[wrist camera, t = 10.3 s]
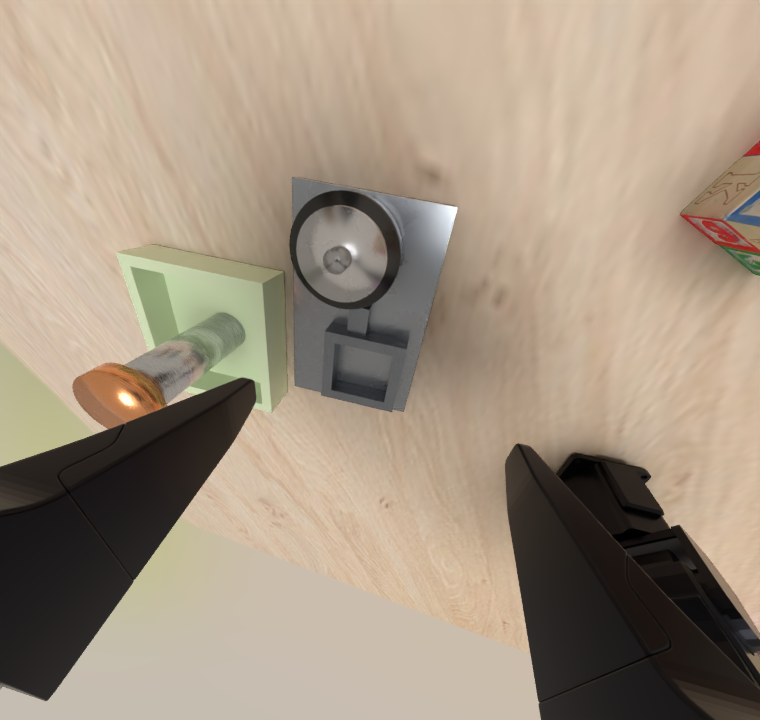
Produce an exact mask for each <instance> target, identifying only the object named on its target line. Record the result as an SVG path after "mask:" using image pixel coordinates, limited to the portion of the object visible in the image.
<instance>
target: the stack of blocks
mask: <svg viewBox="0 0 760 720" xmlns="http://www.w3.org/2000/svg"><path fill="white" fill-rule="evenodd" d="M680 215H681V216H682V217H684V218H685V219H686V220H687V221H688V222H690V223H691V224H692V225H693V226H694V227H696V228H697V229H698V230H699V231H701V232H702V233H703V234H704V235H706V236H707V237H708V238H709V239H711V240H712V241H713V242H714V243H715V244H718V245H720V246H721V247H722V248H724V249H725V250H726V251H727V252H728V253H730V254H731V255H732V256H733V257H734V258H736V259H737V260H738V261H739V262H740V263H742V264H743V265H744V266H745V267H747V268H748V269H749V270H750V271H751V272H752V273H754V274H756V275H759V276H760V141H759V142H758V143H757V144H756V145H755V146H754V147H753V148H752V149H751V150H750V151H748V152H747V153H746V154H745V155H744V156H743V157H742V158H741V159H739V160H738V161H737V162H736V163H735V164H733V165H732V166H731V167H730V168H729V169H728V170H727V171H726V172H725V173H723V174H722V175H721V176H720V177H719V178H718V179H717V180H716V181H715V182H713V183H712V184H711V185H710V186H709V187H708V188H707V189H706V190H705V191H704V192H702V193H701V194H700V195H699V196H698V197H697V198H696V199H695V200H694V201H693V202H691V203H690V204H689V205H688V206H687V207H686V208H685V209H684V210H683V211H682V212H681V213H680Z"/></svg>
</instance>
